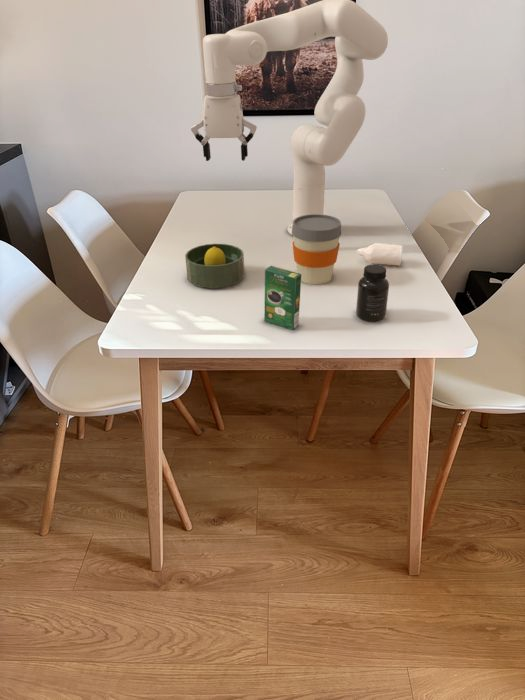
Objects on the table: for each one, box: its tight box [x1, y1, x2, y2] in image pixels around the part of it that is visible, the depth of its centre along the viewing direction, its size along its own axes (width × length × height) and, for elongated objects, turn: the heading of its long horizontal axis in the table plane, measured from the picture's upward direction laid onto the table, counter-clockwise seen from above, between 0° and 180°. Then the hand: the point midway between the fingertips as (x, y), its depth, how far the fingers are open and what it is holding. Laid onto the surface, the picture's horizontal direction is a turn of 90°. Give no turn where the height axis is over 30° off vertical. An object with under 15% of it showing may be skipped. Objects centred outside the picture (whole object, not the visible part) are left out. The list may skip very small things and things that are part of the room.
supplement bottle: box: [355, 263, 390, 323], centre depth 126 cm, size 7×7×12 cm
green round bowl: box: [184, 243, 245, 289], centre depth 147 cm, size 15×15×6 cm
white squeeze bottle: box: [356, 242, 403, 267], centre depth 154 cm, size 6×12×6 cm, turn 78°
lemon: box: [204, 247, 226, 266], centre depth 146 cm, size 6×6×8 cm
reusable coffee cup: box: [291, 214, 342, 285], centre depth 144 cm, size 12×13×15 cm
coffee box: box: [263, 265, 302, 331], centre depth 123 cm, size 8×3×13 cm, turn 57°
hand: (226, 159), depth 151 cm, fingers open, 9 cm apart
